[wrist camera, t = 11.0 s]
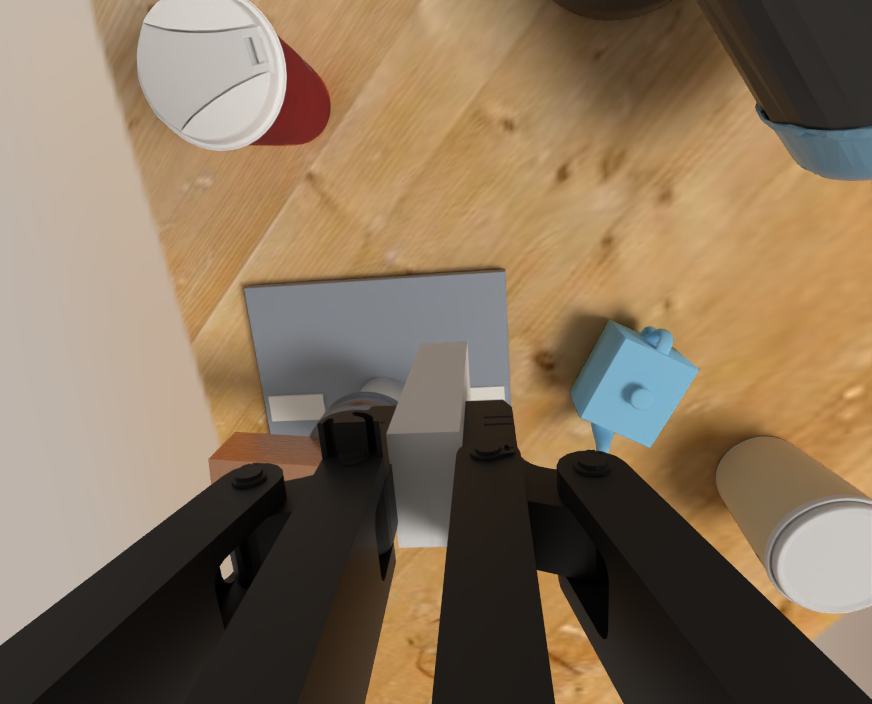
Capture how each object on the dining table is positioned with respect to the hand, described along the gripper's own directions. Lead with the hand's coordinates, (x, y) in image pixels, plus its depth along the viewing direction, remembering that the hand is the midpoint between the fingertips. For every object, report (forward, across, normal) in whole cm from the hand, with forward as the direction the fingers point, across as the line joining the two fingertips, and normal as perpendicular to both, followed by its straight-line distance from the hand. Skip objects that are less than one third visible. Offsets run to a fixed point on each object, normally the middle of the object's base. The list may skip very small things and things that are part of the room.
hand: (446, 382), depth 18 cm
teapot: (+30, +12, -11) cm, 34 cm away
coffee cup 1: (+30, -13, +13) cm, 35 cm away
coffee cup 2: (+30, +25, -21) cm, 44 cm away
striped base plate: (+29, -8, -12) cm, 33 cm away
